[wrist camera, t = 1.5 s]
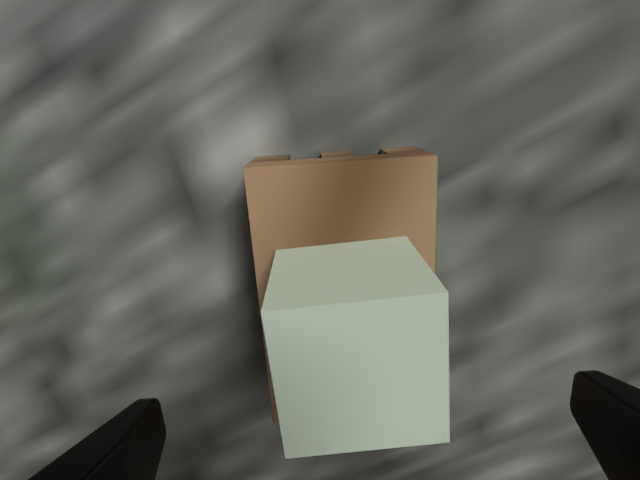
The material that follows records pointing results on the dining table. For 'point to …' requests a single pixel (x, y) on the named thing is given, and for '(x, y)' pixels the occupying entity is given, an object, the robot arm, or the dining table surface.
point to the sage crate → (357, 347)
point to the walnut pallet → (338, 206)
